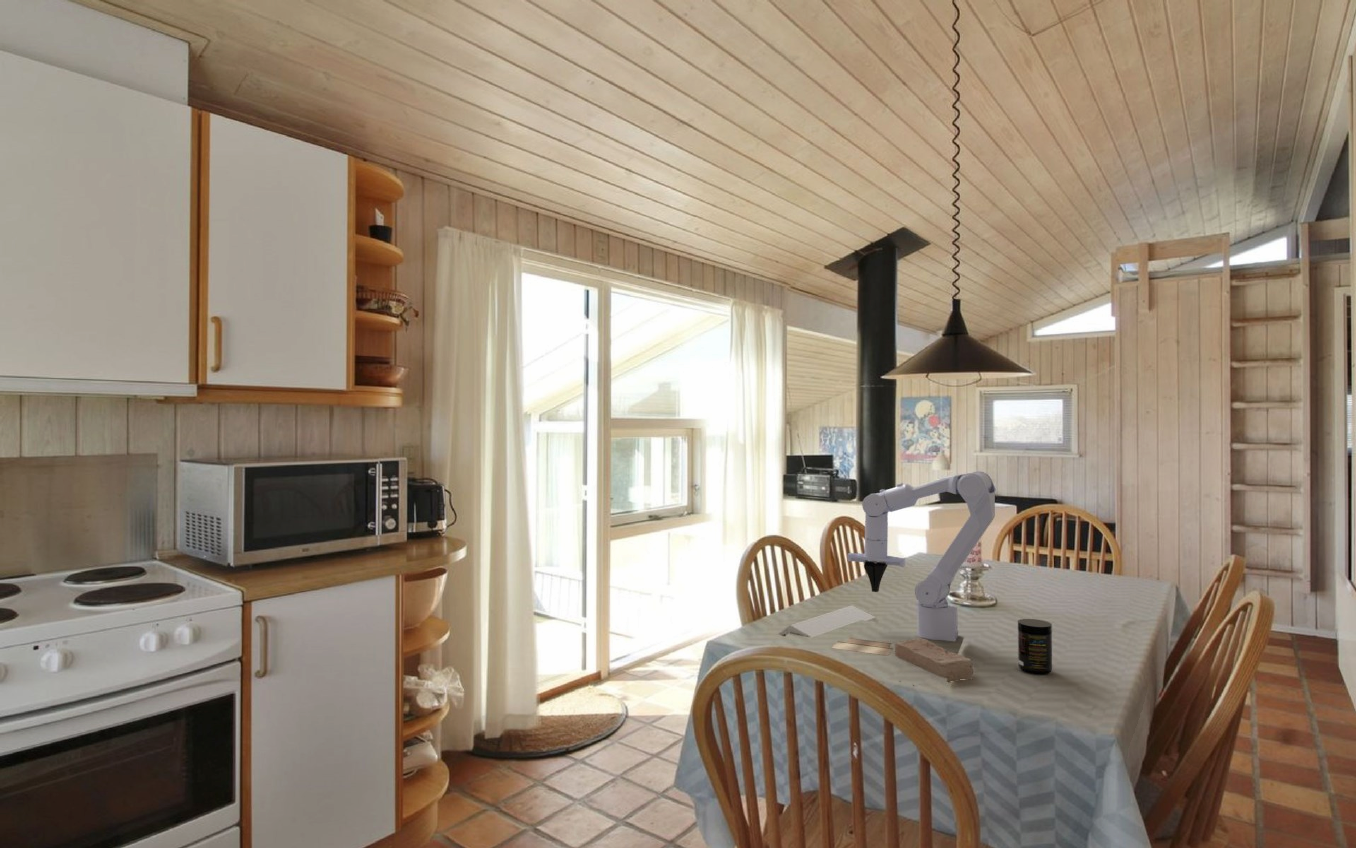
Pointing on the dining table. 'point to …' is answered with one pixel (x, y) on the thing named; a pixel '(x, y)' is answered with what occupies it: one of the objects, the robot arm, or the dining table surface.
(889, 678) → the dining table surface
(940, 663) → the brick
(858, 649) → the floor strip
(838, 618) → the crown molding
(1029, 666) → the supplement container
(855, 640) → the plank
